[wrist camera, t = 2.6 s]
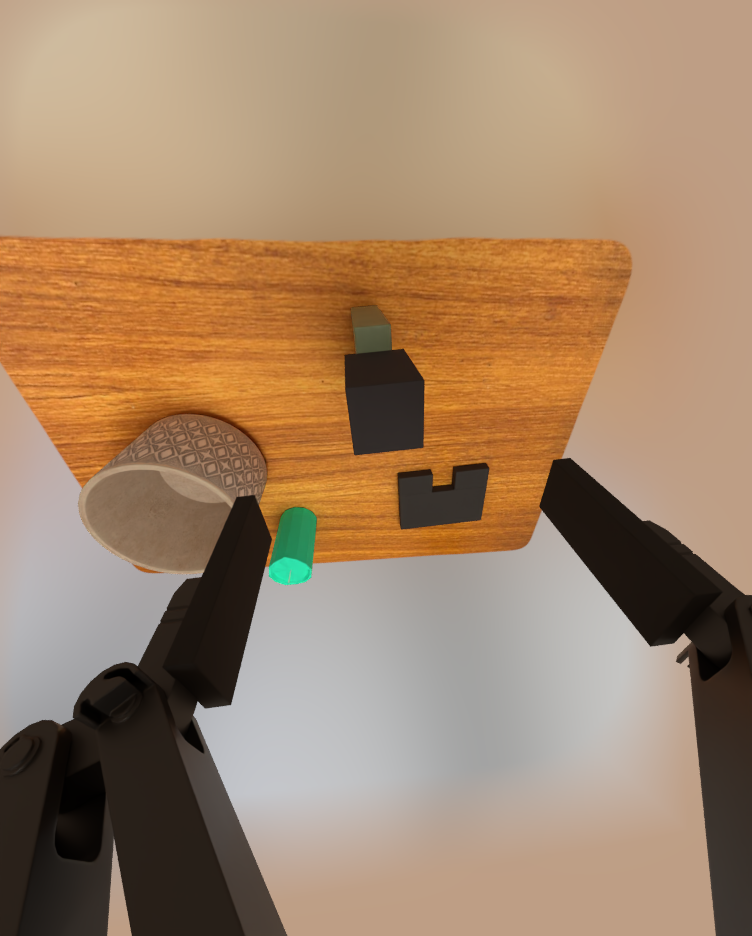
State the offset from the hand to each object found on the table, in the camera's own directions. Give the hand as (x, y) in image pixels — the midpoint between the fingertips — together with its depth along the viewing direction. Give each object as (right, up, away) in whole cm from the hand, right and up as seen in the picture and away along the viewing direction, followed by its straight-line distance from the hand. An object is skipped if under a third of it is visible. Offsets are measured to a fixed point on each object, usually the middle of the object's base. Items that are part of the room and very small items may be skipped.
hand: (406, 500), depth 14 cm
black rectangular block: (-1, +8, +14) cm, 16 cm away
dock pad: (+9, -3, +37) cm, 39 cm away
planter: (-25, +2, +30) cm, 39 cm away
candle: (-14, -7, +38) cm, 41 cm away
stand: (-2, +16, +23) cm, 28 cm away
